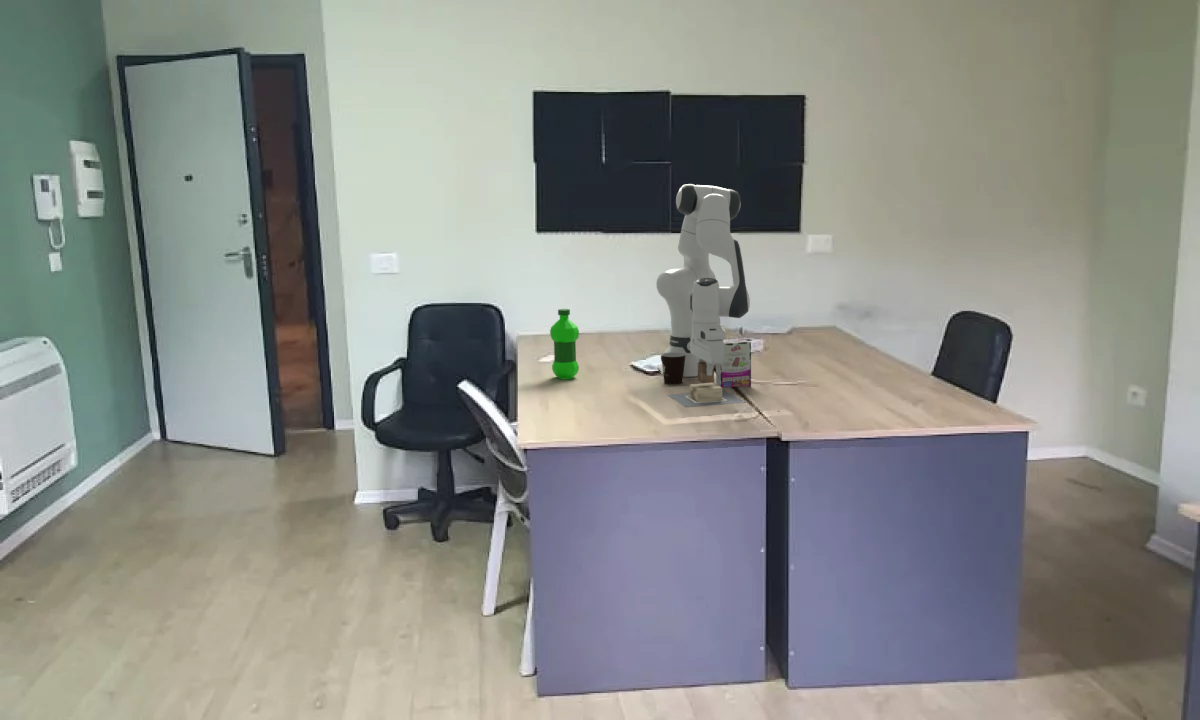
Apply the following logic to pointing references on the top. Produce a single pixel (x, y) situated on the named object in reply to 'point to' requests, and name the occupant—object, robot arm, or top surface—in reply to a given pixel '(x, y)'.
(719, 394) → the maple base block
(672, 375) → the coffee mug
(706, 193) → the robot arm
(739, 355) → the candy bar box
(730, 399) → the board
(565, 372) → the plastic bottle
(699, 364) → the walnut block
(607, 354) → the top surface
